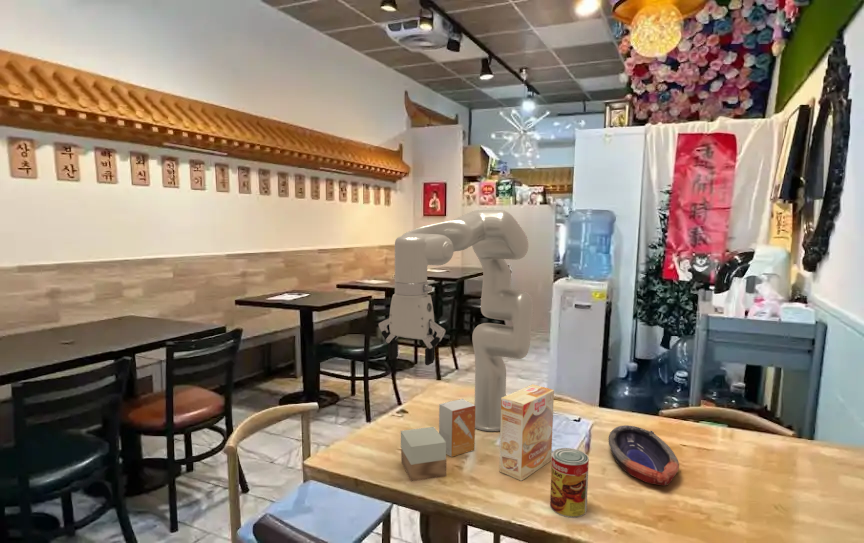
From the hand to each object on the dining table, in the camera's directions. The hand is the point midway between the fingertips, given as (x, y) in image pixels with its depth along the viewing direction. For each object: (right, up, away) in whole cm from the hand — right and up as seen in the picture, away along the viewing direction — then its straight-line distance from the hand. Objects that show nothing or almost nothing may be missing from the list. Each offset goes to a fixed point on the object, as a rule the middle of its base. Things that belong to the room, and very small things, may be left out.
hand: (411, 361), depth 123 cm
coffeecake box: (+29, -30, +12) cm, 43 cm away
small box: (+12, -28, +21) cm, 37 cm away
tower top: (+3, -25, +10) cm, 27 cm away
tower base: (+3, -30, +10) cm, 31 cm away
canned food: (+35, -32, -7) cm, 48 cm away
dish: (+60, -30, +14) cm, 68 cm away
